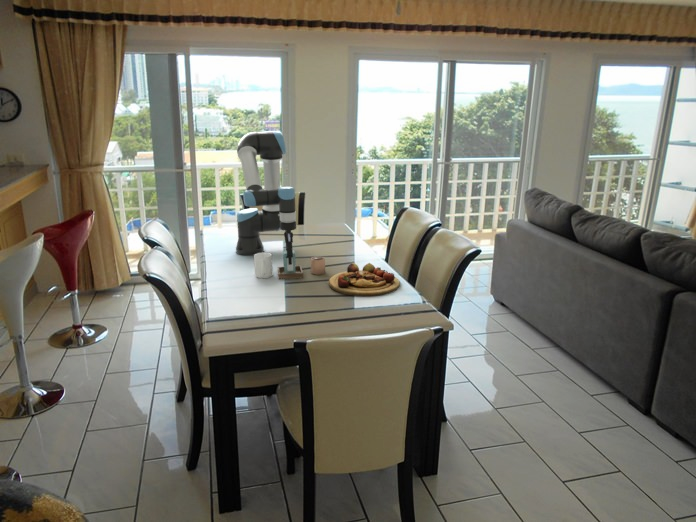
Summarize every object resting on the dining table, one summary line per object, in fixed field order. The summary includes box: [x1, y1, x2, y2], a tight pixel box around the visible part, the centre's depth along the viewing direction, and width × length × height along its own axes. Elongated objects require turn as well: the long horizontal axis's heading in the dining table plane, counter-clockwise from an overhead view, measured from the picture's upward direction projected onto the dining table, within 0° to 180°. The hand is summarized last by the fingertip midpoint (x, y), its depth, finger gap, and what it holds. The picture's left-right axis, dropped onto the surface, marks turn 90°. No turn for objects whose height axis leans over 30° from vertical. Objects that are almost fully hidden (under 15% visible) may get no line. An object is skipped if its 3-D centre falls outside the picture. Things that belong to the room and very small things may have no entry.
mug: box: [253, 252, 273, 279], centre depth 248 cm, size 12×8×10 cm
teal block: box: [283, 249, 296, 274], centre depth 250 cm, size 5×5×10 cm
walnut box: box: [277, 265, 304, 280], centre depth 251 cm, size 11×11×2 cm
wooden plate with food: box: [328, 262, 401, 297], centre depth 237 cm, size 32×32×8 cm
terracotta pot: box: [310, 255, 326, 275], centre depth 254 cm, size 7×7×7 cm
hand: (290, 268), depth 251 cm, fingers closed on teal block, 5 cm apart
